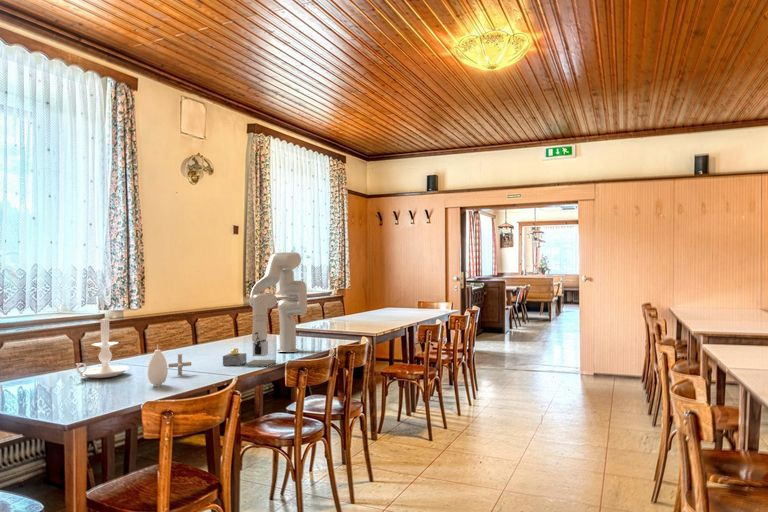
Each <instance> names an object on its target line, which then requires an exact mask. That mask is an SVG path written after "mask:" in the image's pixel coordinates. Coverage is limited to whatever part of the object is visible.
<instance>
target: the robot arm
mask: <svg viewBox="0 0 768 512" xmlns="http://www.w3.org/2000/svg"><path fill="white" fill-rule="evenodd" d="M301 261H302V257H301V254H300V253H298V252H296V251H295V252H275V253H273V254H272V255H271V256H270V257H269V259H268V261H267V265H266V268H265V271H264V276H263V277H262V278H260V279H259V280H258V281H257V282H256V283H255V284H254V285H253V287H252V289H251V292H250V294H249V295H250V296H249V300H248V301H249V306H250V307H252V331H251V332H252V333H251V340H252V341H253V342H254V344H255V355H260V354H261V347H260V346H261V341H267V339H268V325H267V323H268V319H269V318H268V309H270V308H274V307H275V306H277V311H278V318H279V349H277V350H276V352H277V351H278V352H295V353H298V352H299V350H300V349H299V348H297V329H296V326H297V325H296V320H295V317H293V316H300V315H301V316H302V315H305V314H307V311H308V292H307V289H308V288H307V285H306V282H305V281H303V280H295V279H294V271H293V270H294V269H296V268H298V267H300V265H301ZM277 284H279V294H280V296H282V297H284V298H282V299H280V300H278V298H277V296H276V295H275V294H273V293H261V292H263V291H264V290H265V289H266V290H267V288H270V287H273V286H275V285H277ZM285 297H288V298H285ZM291 297H295V298H291ZM258 342H259V343H258ZM297 351H298V352H297ZM278 352H277V353H278Z"/></svg>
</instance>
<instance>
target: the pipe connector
mask: <svg viewBox="0 0 768 512" xmlns="http://www.w3.org/2000/svg"><path fill="white" fill-rule="evenodd" d="M190 366H192V361H185V362H183V354H182V353H178V354H177V362H172V363H167V368H177V376H178V375H182V376H183V367H190Z"/></svg>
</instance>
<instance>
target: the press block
mask: <svg viewBox="0 0 768 512" xmlns="http://www.w3.org/2000/svg"><path fill="white" fill-rule="evenodd" d="M245 362H246V363H247V353H244V352H243V353H239V352H238V355H231V352H230V353H227V354H225V355H223V356H222V366H223V365H241V364H243V363H245ZM246 363H245V364H246ZM243 365H244V364H243ZM241 366H242V365H241Z"/></svg>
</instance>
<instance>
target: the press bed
mask: <svg viewBox="0 0 768 512" xmlns="http://www.w3.org/2000/svg"><path fill="white" fill-rule="evenodd" d="M276 361H277V360H276V359H252V360H250V361H249V362H246V363H245V364H244V367H245V366H269V365H271V364H273V363H275V362H276ZM275 364H276V363H275ZM273 365H274V364H273ZM271 366H272V365H271ZM269 367H270V366H269Z"/></svg>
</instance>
